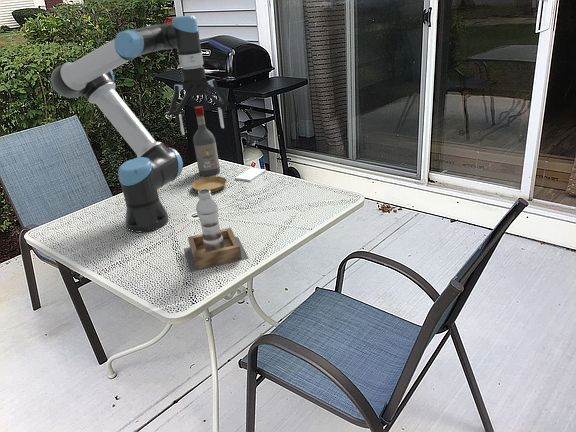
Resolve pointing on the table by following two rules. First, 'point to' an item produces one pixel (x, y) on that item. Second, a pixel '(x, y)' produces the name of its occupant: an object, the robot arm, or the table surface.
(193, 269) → the mat
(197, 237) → the wooden tray
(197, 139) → the liquor
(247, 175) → the external hard drive
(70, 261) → the table surface
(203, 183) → the plant saucer
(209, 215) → the plastic bottle
